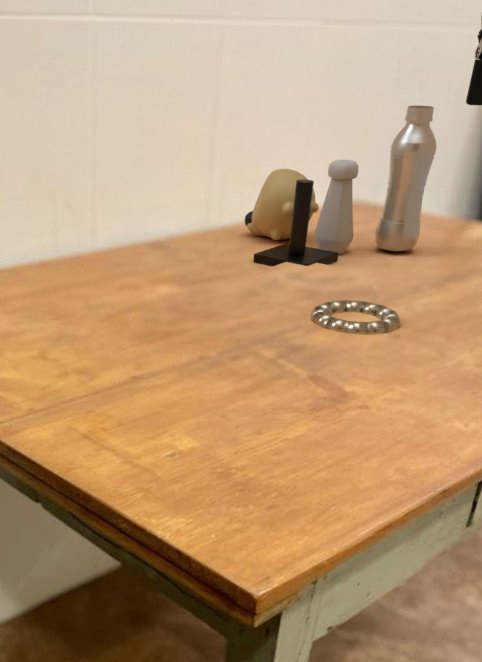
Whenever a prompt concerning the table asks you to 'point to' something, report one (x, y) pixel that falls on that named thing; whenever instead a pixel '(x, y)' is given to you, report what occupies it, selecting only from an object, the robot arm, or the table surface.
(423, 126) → the silver metal bottle
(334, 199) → the salt shaker
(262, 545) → the table surface
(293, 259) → the stand
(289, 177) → the toy pig
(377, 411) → the table surface
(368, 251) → the table surface
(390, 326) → the beaded metal ring
